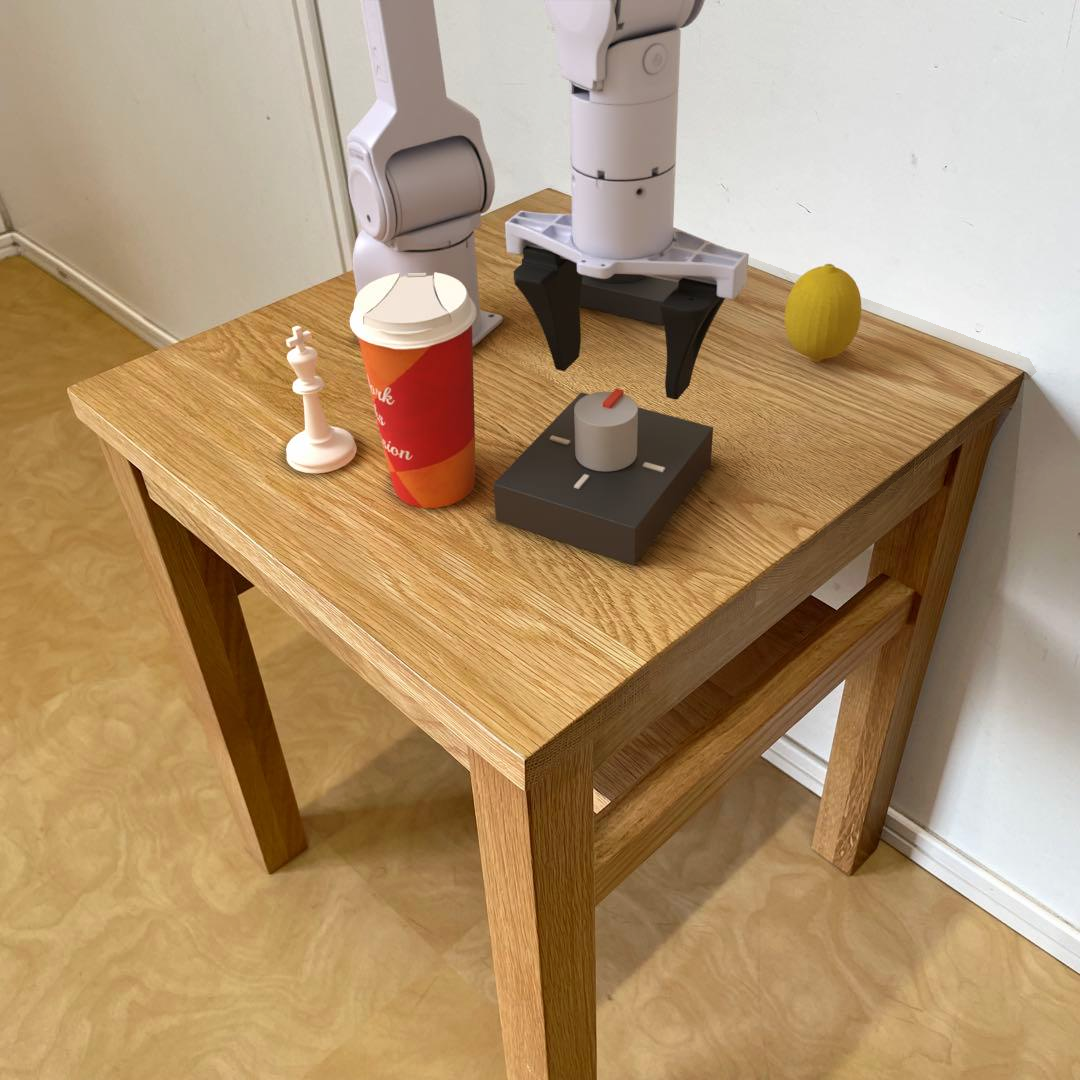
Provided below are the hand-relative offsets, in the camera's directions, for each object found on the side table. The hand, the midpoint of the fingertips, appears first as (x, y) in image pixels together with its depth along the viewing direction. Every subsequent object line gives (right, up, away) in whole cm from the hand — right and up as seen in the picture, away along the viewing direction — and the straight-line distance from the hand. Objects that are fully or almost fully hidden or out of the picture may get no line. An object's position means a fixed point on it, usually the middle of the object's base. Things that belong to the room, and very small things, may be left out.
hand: (621, 376), depth 69 cm
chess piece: (-21, -4, +10) cm, 23 cm away
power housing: (+2, +11, +27) cm, 29 cm away
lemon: (+16, +4, +17) cm, 24 cm away
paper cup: (-12, -6, +6) cm, 15 cm away
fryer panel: (-1, -7, +5) cm, 8 cm away
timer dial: (-1, -5, +3) cm, 5 cm away
